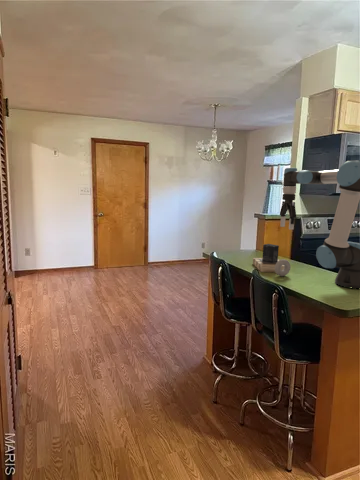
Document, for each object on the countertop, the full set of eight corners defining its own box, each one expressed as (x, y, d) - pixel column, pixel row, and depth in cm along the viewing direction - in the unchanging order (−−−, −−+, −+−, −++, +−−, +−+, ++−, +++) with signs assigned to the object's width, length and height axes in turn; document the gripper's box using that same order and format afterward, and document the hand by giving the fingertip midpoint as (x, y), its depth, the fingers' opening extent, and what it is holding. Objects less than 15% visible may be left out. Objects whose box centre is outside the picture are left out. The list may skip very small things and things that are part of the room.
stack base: (287, 272, 196) (287, 265, 195) (261, 272, 195) (261, 265, 195) (276, 264, 216) (277, 257, 215) (252, 263, 215) (253, 257, 214)
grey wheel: (287, 274, 191) (288, 258, 189) (291, 276, 188) (292, 259, 186) (272, 275, 188) (274, 259, 186) (276, 277, 185) (277, 260, 183)
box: (277, 262, 203) (279, 245, 202) (272, 263, 200) (273, 246, 198) (267, 259, 209) (268, 243, 208) (261, 260, 206) (263, 244, 204)
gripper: (275, 193, 211) (273, 225, 215) (291, 193, 187) (288, 230, 190) (287, 193, 212) (284, 225, 215) (304, 194, 187) (301, 230, 190)
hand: (286, 228), depth 203 cm, fingers open, 13 cm apart
